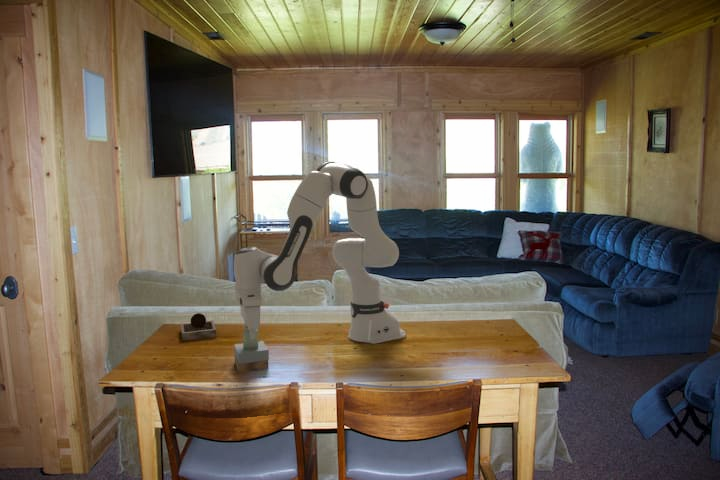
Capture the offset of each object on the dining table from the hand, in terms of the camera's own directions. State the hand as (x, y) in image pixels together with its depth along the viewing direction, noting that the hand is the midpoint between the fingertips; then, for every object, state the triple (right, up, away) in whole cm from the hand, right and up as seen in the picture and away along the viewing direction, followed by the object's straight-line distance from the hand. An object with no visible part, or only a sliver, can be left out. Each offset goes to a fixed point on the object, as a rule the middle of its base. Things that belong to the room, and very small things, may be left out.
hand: (250, 334), depth 196 cm
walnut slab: (0, -11, +1) cm, 11 cm away
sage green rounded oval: (0, -4, 0) cm, 4 cm away
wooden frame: (-28, -6, +36) cm, 46 cm away
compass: (-27, -6, +38) cm, 47 cm away
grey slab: (0, -8, +1) cm, 8 cm away
